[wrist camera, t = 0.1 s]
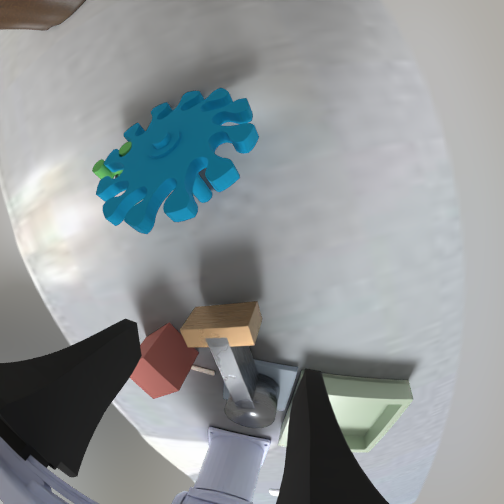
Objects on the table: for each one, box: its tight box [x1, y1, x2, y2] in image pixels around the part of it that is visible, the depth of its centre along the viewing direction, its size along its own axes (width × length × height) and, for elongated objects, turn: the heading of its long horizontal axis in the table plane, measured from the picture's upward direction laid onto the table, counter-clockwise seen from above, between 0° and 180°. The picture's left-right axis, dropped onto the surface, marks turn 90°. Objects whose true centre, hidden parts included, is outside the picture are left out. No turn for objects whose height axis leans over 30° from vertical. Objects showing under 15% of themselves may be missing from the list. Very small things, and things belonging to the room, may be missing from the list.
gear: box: [92, 88, 259, 234], centre depth 16 cm, size 11×6×10 cm
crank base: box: [191, 359, 298, 411], centre depth 24 cm, size 6×10×1 cm, turn 85°
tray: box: [278, 370, 413, 452], centre depth 23 cm, size 11×11×2 cm
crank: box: [180, 301, 280, 428], centre depth 21 cm, size 12×5×3 cm, turn 15°
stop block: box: [130, 322, 199, 399], centre depth 22 cm, size 4×4×5 cm
